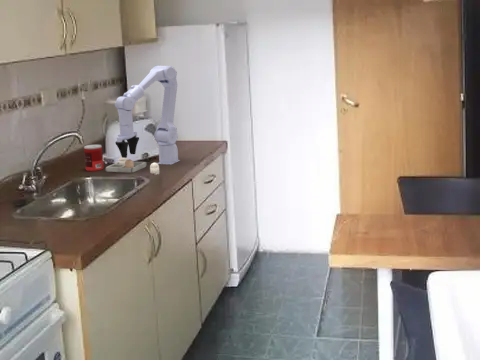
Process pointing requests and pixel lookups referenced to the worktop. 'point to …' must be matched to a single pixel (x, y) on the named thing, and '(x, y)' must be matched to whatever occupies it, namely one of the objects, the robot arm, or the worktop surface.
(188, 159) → the worktop surface
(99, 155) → the canned food
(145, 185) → the worktop surface
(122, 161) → the cream egg seated
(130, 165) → the brown egg
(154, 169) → the cream egg loose
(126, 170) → the egg tray
